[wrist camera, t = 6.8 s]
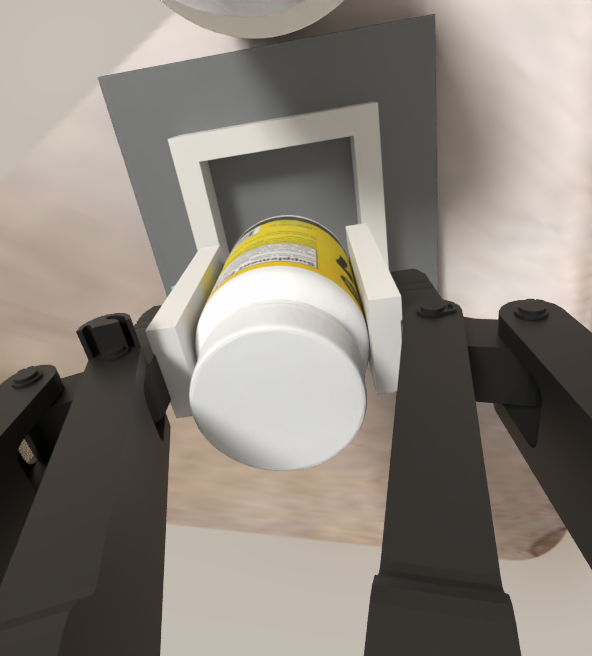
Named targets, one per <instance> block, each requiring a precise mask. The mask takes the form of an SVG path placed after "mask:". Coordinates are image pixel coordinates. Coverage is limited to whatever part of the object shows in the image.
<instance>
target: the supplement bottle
mask: <svg viewBox="0 0 592 656" xmlns="http://www.w3.org/2000/svg"><path fill="white" fill-rule="evenodd" d="M195 349H196V357H197V364H196V367H195V369H194V372H193V375H192V379H191V384H190V392H189V398H190V406H191V410H192V414H193V417H194V419H195V422H196V424H197V426H198V428H199V429H200V431H201V432H202V434H203V435H204V436H205V438H206V439H207V440H208V441H209V442H210V443H211V444H212V445H213V446H214V447H215V448H217V449H218V450H219V451H221V452H222V453H224V454H225V455H226V456H228V457H230V458H232V459H233V460H235V461H238V462H240V463H242V464H245V465H248V466H251V467H255V468H260V469H265V470H273V471H289V470H299V469H304V468H309V467H312V466H314V465H317V464H320V463H323V462H325V461H327V460H329V459H330V458H332V457H334V456H335V455H337V454H338V453H339V452H340V451H342V450H343V449H344V448H345V447H346V446H347V445H348V444H349V443H350V442H351V441H352V440H353V438H354V437H355V436H356V434H357V432H358V431H359V429H360V427H361V425H362V422H363V420H364V416H365V412H366V406H367V393H366V385H365V371H366V368H367V365H368V359H369V335H368V329H367V326H366V322H365V318H364V314H363V310H362V307H361V303H360V299H359V296H358V292H357V288H356V285H355V281H354V278H353V274H352V270H351V267H350V263H349V260H348V257H347V255H346V252H345V250H344V248H343V246H342V244H341V243H340V241H339V240H338V239H337V237H336V236H335V235H334V234H333V233H332V232H331V231H330V230H328V229H327V228H326V227H324V226H323V225H321V224H320V223H318V222H316V221H314V220H311V219H308V218H305V217H301V216H294V215H282V216H275V217H271V218H268V219H265V220H263V221H260V222H258V223H257V224H255V225H253V226H252V227H250V228H249V229H248V230H247V231H246V232H245V233H244V234H243V235H242V236H241V237H240V238H239V239H238V241H237V242H236V244H235V245H234V247H233V249H232V250H231V252H230V255H229V257H228V259H227V261H226V263H225V265H224V267H223V269H222V271H221V273H220V275H219V278H218V280H217V282H216V284H215V286H214V288H213V290H212V292H211V294H210V297H209V299H208V301H207V303H206V305H205V307H204V309H203V311H202V314H201V316H200V319H199V322H198V326H197V330H196V338H195Z"/></svg>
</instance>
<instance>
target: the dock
mask: <svg viewBox="0 0 592 656" xmlns="http://www.w3.org/2000/svg"><path fill="white" fill-rule="evenodd" d="M98 80H99V83H100V86H101V90H102V93H103V96H104V99H105V102H106V105H107V108H108V112H109V115H110V118H111V121H112V124H113V127H114V130H115V134H116V137H117V140H118V143H119V146H120V149H121V152H122V156H123V159H124V162H125V165H126V168H127V171H128V174H129V178H130V181H131V184H132V187H133V190H134V193H135V197H136V200H137V203H138V206H139V209H140V212H141V215H142V219H143V222H144V225H145V228H146V231H147V234H148V237H149V241H150V244H151V247H152V250H153V253H154V256H155V259H156V263H157V266H158V269H159V272H160V275H161V278H162V281H163V285H164V288H165V291H166V294H167V297H168V296H169V294H170V293H171V291H172V290H173V288H174V287H175V285H176V284H177V282H178V281H179V279H180V278H181V276H182V275H183V273H184V272H185V270H186V269H187V267H188V265H189V264H190V262H191V261H192V259H193V258H194V256H195V255H196V253H197V252H198V250H199V249H200V248H205V247H211V246H218V245H220V249H221V253H222V257H223V261H224V265H225V263H226V261H227V259H228V257H229V255H230V252H231V250H232V249H233V247H234V245H235V244H236V242H237V241H238V239H239V238H240V237H241V236H242V235H243V234H244V233H245V232H246V231H247V230H248V229H249V228H250V227H252V226H253V225H255V224H257V223H258V222H260V221H263V220H265V219H268V218H271V217H275V216H282V215H294V216H301V217H305V218H308V219H311V220H314V221H316V222H318V223H320V224H321V225H323V226H324V227H326V228H327V229H328V230H330V231H331V232H332V233H333V234H334V235H335V236H336V237H337V239H338V240H339V241H340V243H341V244H342V246H343V248H344V250H345V252H346V255H347V257H348V260H349V255H348V245H347V236H346V227H345V226H350V225H357V224H364V223H366V224H367V226H368V228H369V230H370V232H371V234H372V236H373V238H374V240H375V242H376V245H377V247H378V249H379V251H380V253H381V255H382V257H383V259H384V261H385V263H386V265H387V268H388V270H389V272H393V271H400V270H407V269H417V270H419V271H421V272H423V273H425V274H426V276H427V277H428V279H429V280H430V282H431V283H432V285H433V286H434V288H435V289H436V290H437V292H438V252H437V158H436V65H435V14H431V15H426V16H420V17H415V18H410V19H404V20H399V21H394V22H388V23H383V24H378V25H372V26H367V27H362V28H356V29H351V30H346V31H340V32H335V33H330V34H324V35H319V36H314V37H308V38H303V39H298V40H292V41H287V42H282V43H277V44H271V45H266V46H261V47H255V48H250V49H245V50H239V51H234V52H229V53H223V54H218V55H213V56H207V57H202V58H197V59H191V60H186V61H181V62H175V63H170V64H165V65H159V66H154V67H149V68H143V69H138V70H133V71H128V72H122V73H117V74H112V75H106V76H101V77H98Z"/></svg>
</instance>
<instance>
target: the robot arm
mask: <svg viewBox="0 0 592 656" xmlns="http://www.w3.org/2000/svg"><path fill="white" fill-rule="evenodd" d="M345 227H346V236H347V245H348V255H349V263H350V267H351V270H352V274H353V278H354V281H355V285H356V288H357V292H358V296H359V299H360V303H361V307H362V310H363V314H364V318H365V322H366V326H367V329H368V335H369V363H370V367H371V372H372V376H373V380H374V384H375V388H376V392H377V394H383V393H392V392H397V396H396V407H395V417H394V428H393V438H392V449H391V459H390V470H389V480H388V491H387V501H386V512H385V522H384V533H383V543H382V554H381V564H380V570H379V574H378V575H375V576H374V580H373V584H372V590H371V597H370V604H369V613H368V614H369V615H368V623H367V632H366V641H365V650H364V656H521V651H520V645H519V639H518V632H517V626H516V621H515V616H514V611H513V606H512V603H511V600H510V596H509V595H508V594H506V593H504V591H503V587H502V582H501V576H500V569H499V562H498V555H497V548H496V541H495V534H494V528H493V521H492V514H491V507H490V500H489V493H488V486H487V479H486V472H485V465H484V458H483V451H482V444H481V437H480V430H479V424H478V417H477V410H476V403H475V401H477V402H487V403H493V404H494V408H495V411H496V412H497V414H498V416H499V417H500V419H501V421H502V422H503V424H504V426H505V427H506V429H507V430H508V432H509V434H510V435H511V437H512V439H513V440H514V442H515V444H516V445H517V447H518V449H519V450H520V452H521V454H522V455H523V457H524V459H525V460H526V462H527V464H528V465H529V467H530V468H531V470H532V472H533V473H534V475H535V477H536V478H537V480H538V482H539V483H540V485H541V487H542V488H543V490H544V492H545V493H546V495H547V497H548V498H549V500H550V502H551V503H552V505H553V506H554V508H555V510H556V511H557V513H558V515H559V516H560V518H561V520H562V521H563V523H564V525H565V526H566V528H567V530H568V531H569V533H570V534H571V536H572V538H573V539H574V541H575V543H576V544H577V546H578V548H579V549H580V551H581V552H582V554H583V556H584V558H585V559H586V561H587V562H588V564H589V566H590V568H591V569H592V333H591V332H590V331H589V330H588V329H587V328H585V327H584V326H583V325H582V324H581V323H579V322H578V321H577V320H576V319H575V318H573V317H572V316H571V315H570V314H569V313H567V312H566V311H565V310H564V309H563V308H561V307H559V306H557V305H555V304H553V303H549V302H545V301H544V300H538V299H536V300H535V299H526V300H518V301H513V302H509V303H507V304H505V305H503V306H502V307H501V309H500V310H499V319H498V320H493V319H473V318H468V317H463V313H462V309H461V308H460V306H459V305H457V304H455V303H454V302H451V301H446V300H443V299H442V298H441V296H440V295H439V293H438V292H437V290H436V289H435V288H434V286H433V285H432V283H431V282H430V280H429V279H428V277H427V276H426V274H425V273H423V272H421V271H419V270H417V269H407V270H400V271H393V272H389V270H388V268H387V265H386V263H385V261H384V259H383V257H382V255H381V253H380V251H379V249H378V247H377V245H376V242H375V240H374V238H373V236H372V234H371V232H370V230H369V228H368V226H367V224H366V223H364V224H357V225H350V226H345ZM223 267H224V261H223V257H222V253H221V249H220V245H218V246H211V247H205V248H200V249H199V250H198V252H197V253H196V255H195V256H194V258H193V259H192V261H191V262H190V264H189V265H188V267H187V269H186V270H185V272H184V273H183V275H182V276H181V278H180V279H179V281H178V282H177V284H176V285H175V287H174V288H173V290H172V291H171V293H170V294H169V296H168V297H167V299H166V300H165V302H164V303H163V305H160V306H154V307H152V308H151V309H149V310H148V311H146V312H145V313H144V314H142V316H141V317H140V318H139V320H138V321H137V324H135V325H134V326H133V323H132V320H131V317H130V315H128V314H125V313H115V314H109V315H105V316H101V317H98V318H96V319H93V320H91V321H89V322H87V323H86V324H84V325H82V326H81V327H80V328H79V329H78V330H77V331H76V332H77V335H78V337H79V339H80V341H81V344H82V346H83V348H84V351H85V353H86V355H87V357H88V363H87V366H86V368H85V371H84V372H82V373H78V374H75V375H72V376H68V377H65V378H60V376H59V374H58V372H57V370H56V368H55V367H54V366H52V365H39V366H35V367H34V366H31V367H28V368H27V369H22V370H20V371H18V373H16V374H15V375H13V376H11V377H9V378H8V379H7V380H6V381H4V382H3V383H2V384H1V385H0V656H160V644H161V622H162V601H163V578H164V556H165V534H166V513H167V491H168V470H169V448H170V424H169V421H168V418H167V415H166V410H167V408H168V405H169V403H170V402H171V405H172V408H173V410H174V413H175V416H176V418H180V417H188V416H193V414H192V410H191V406H190V398H189V392H190V384H191V379H192V375H193V372H194V369H195V367H196V364H197V357H196V349H195V338H196V330H197V326H198V322H199V319H200V316H201V314H202V311H203V309H204V307H205V305H206V303H207V301H208V299H209V297H210V294H211V292H212V290H213V288H214V286H215V284H216V282H217V280H218V278H219V275H220V273H221V271H222V269H223ZM23 439H25V440H26V442H27V444H28V446H29V447H30V449H31V451H32V453H33V454H34V456H33V457H32V459H31V460H30V461H29V462H28V463H27V462H26V461H25V460H24V459H23V457H22V456H21V454H20V452H19V450H18V448H19V446H20V444H21V442H22V440H23Z"/></svg>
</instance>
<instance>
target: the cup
mask: <svg viewBox="0 0 592 656" xmlns="http://www.w3.org/2000/svg"><path fill="white" fill-rule="evenodd" d="M160 1H162V2H163V3H164V4H166V5H167V6H168V7H169V8H170V9H172V10H173V11H174V12H176V13H177V14H179V15H181V16H182V17H184V18H185V19H187V20H189V21H191V22H193V23H195V24H197V25H199V26H201V27H203V28H206V29H208V30H211V31H214V32H217V33H221V34H225V35H229V36H233V37H240V38H269V37H276V36H280V35H285V34H289V33H291V32H294V31H297V30H300V29H302V28H304V27H306V26H308V25H311V24H313V23H314V22H316V21H318V20H319V19H321V18H322V17H324V16H326V15H327V14H328V13H330V12H331V11H332V10H333V9H335V8H336V7H337V6H338V5H340V4H341V3H342V2H343V1H344V0H160Z"/></svg>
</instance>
